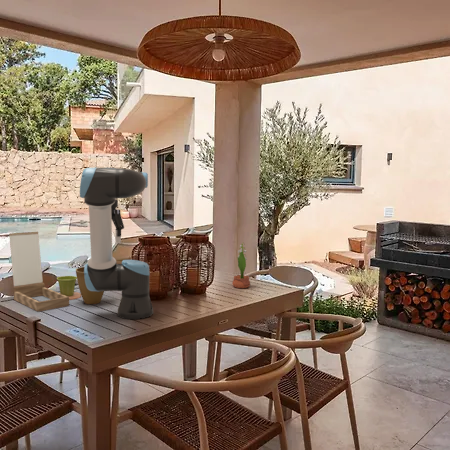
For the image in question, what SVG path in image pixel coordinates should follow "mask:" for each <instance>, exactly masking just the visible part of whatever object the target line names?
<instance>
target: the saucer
mask: <svg viewBox="0 0 450 450" xmlns="http://www.w3.org/2000/svg"><path fill="white" fill-rule="evenodd" d="M68 297H69V301H72V300H73V301H74V300H77V299H81V297H82V295H81V293H80V292H77V291H74V295H72V296H68Z"/></svg>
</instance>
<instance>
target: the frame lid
mask: <svg viewBox="0 0 450 450" xmlns="http://www.w3.org/2000/svg"><path fill="white" fill-rule="evenodd" d="M8 237H9V243H10V257H11V268H12V280H13V281H12V282H13V287H19V286H26V285H33V284H39V283H44V282H43V271H42V259H41V258H42V257H41V250H40V249H41V248H40V247H41V246H40V239H39V231H27V232H12V233H10V232H9V233H8Z"/></svg>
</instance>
